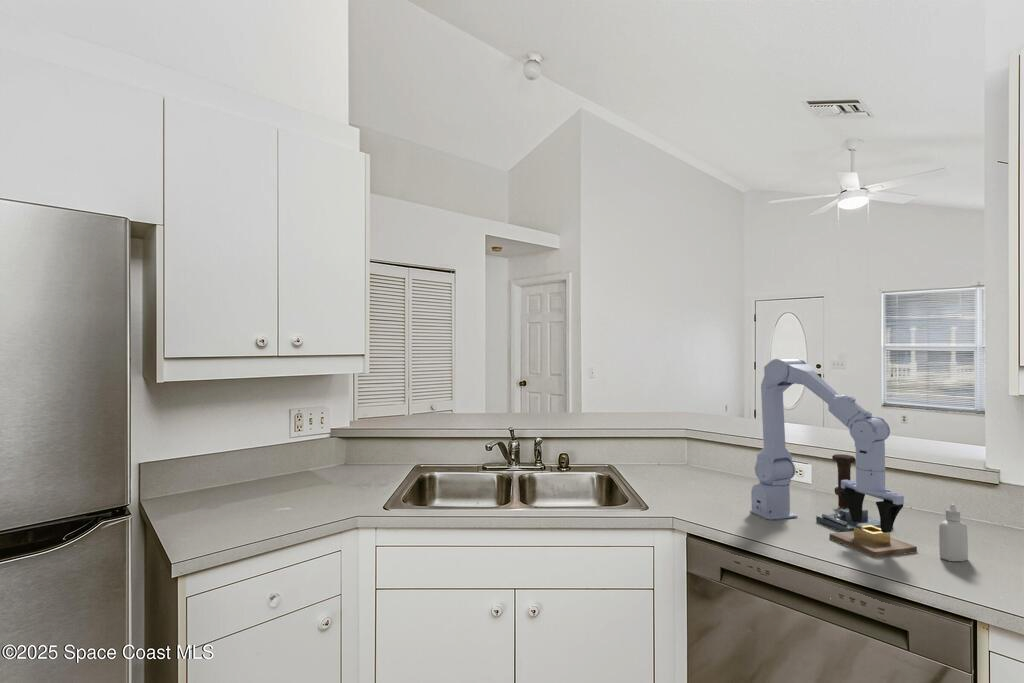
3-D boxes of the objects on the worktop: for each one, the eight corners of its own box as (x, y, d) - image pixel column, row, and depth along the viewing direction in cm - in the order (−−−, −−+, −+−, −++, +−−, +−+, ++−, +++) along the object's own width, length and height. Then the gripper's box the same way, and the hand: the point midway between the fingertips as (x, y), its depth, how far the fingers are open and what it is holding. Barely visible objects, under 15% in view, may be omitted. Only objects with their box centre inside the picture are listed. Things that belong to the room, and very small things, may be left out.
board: (875, 557, 115) (875, 552, 115) (829, 538, 126) (829, 533, 126) (916, 552, 118) (916, 546, 118) (868, 533, 129) (868, 529, 129)
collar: (873, 544, 119) (873, 533, 119) (854, 537, 124) (853, 526, 124) (890, 542, 120) (890, 531, 120) (870, 535, 125) (870, 524, 125)
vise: (849, 534, 129) (848, 506, 129) (816, 521, 139) (815, 495, 139) (893, 529, 132) (892, 501, 133) (858, 517, 142) (857, 491, 142)
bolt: (858, 510, 148) (857, 458, 148) (839, 509, 149) (838, 457, 149) (849, 504, 153) (848, 454, 153) (831, 503, 154) (830, 453, 154)
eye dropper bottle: (933, 553, 117) (932, 500, 117) (963, 556, 115) (962, 502, 115) (943, 561, 112) (942, 506, 113) (975, 564, 111) (973, 508, 111)
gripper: (914, 475, 116) (914, 535, 116) (856, 461, 130) (857, 515, 130) (889, 477, 114) (890, 538, 114) (833, 463, 129) (834, 517, 128)
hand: (871, 526), depth 122 cm, fingers open, 7 cm apart
